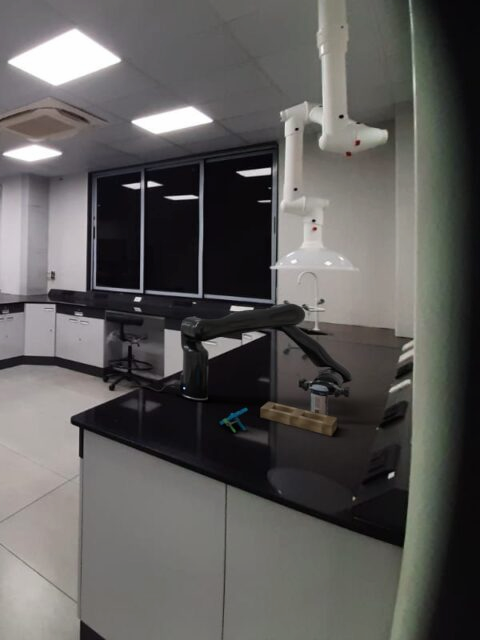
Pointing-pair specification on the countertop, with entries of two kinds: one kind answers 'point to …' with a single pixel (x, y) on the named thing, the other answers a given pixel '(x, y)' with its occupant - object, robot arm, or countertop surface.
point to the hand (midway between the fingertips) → (320, 391)
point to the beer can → (319, 399)
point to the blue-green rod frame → (235, 418)
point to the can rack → (299, 418)
